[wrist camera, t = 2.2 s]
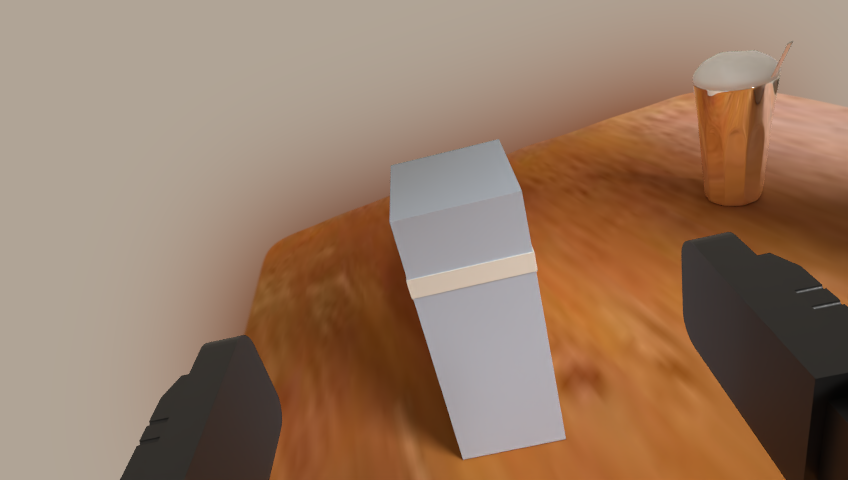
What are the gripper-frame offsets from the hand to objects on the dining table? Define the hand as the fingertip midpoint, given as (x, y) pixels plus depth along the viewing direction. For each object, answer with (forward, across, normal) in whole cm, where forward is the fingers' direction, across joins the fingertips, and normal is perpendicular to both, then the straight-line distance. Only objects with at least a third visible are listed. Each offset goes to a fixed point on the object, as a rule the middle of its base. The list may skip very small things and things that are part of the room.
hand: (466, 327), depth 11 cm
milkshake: (+25, -18, +14) cm, 34 cm away
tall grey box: (+12, 0, +14) cm, 18 cm away
